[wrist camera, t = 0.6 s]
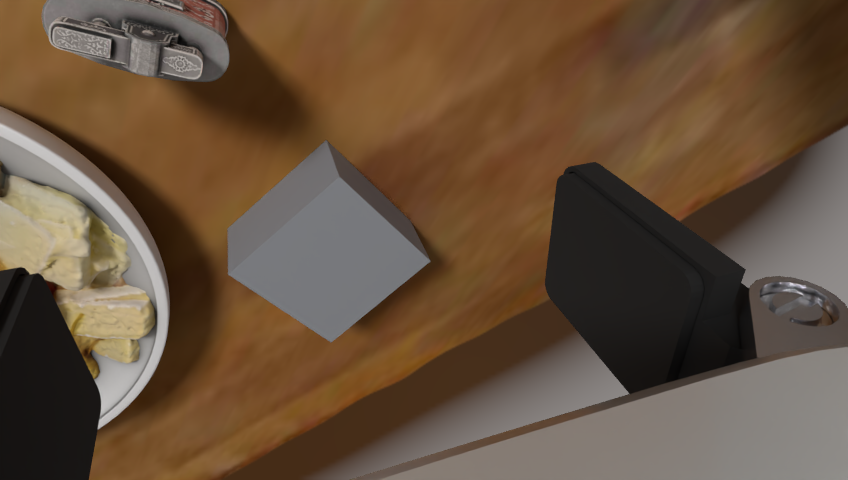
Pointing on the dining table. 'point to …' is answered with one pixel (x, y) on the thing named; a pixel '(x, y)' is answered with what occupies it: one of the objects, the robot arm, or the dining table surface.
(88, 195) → the bowl
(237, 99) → the dining table surface
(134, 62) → the lighter
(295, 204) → the gray block
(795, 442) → the robot arm
